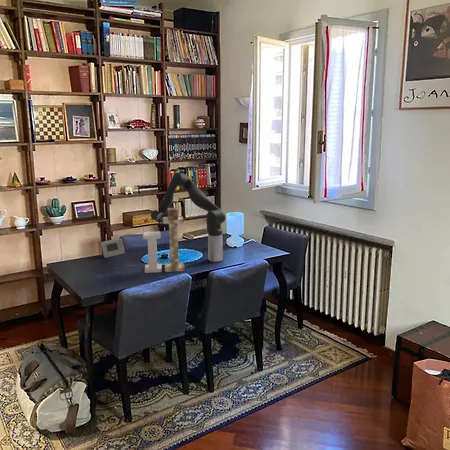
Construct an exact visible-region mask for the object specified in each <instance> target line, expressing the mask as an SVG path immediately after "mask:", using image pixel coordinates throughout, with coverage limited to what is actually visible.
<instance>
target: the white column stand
mask: <svg viewBox="0 0 450 450" xmlns="http://www.w3.org/2000/svg"><path fill="white" fill-rule="evenodd" d="M142 239H143V240H147V252H148V253H147V255H148V264H145V265H144V273H145V274H151V273H162V271H163V269H162V263H158V250H157V240H158V239H159V240H160V239H161V231H144V232H143V235H142Z"/></svg>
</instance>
